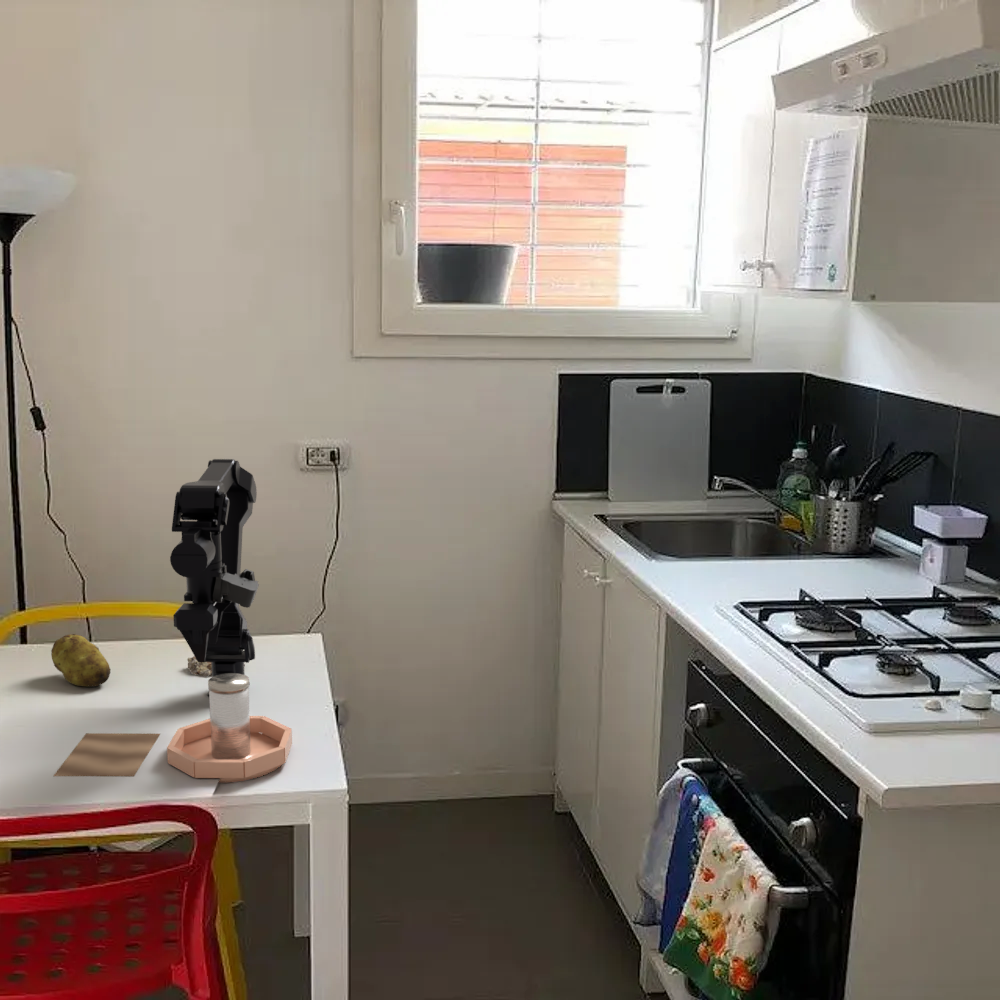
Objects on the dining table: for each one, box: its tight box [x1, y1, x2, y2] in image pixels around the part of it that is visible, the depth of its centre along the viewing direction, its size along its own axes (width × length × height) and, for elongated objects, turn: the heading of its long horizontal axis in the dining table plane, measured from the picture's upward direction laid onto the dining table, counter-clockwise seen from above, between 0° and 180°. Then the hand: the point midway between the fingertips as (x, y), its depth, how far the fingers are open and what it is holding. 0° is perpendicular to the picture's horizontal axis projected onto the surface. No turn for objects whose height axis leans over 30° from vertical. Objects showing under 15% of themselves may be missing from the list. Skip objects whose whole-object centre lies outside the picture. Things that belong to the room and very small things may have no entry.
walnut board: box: [53, 732, 161, 777], centre depth 191 cm, size 16×12×1 cm
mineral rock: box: [186, 655, 246, 678], centre depth 231 cm, size 11×4×8 cm
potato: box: [50, 633, 111, 687], centre depth 223 cm, size 8×13×8 cm, turn 34°
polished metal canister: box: [207, 673, 251, 760], centre depth 190 cm, size 6×6×12 cm
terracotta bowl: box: [166, 715, 293, 784], centre depth 191 cm, size 18×18×4 cm
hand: (207, 652), depth 201 cm, fingers open, 9 cm apart
